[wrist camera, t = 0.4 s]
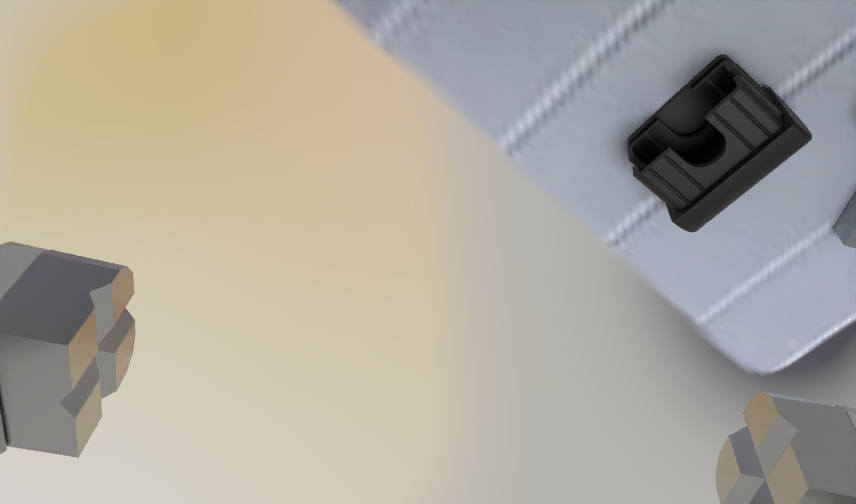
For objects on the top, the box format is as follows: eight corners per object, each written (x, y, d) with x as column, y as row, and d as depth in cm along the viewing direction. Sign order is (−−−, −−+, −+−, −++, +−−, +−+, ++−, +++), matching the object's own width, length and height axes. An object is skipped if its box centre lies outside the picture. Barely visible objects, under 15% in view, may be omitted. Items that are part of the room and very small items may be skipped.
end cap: (683, 199, 61) (702, 248, 56) (619, 144, 59) (631, 189, 54) (793, 109, 57) (825, 151, 51) (728, 45, 54) (754, 82, 49)
